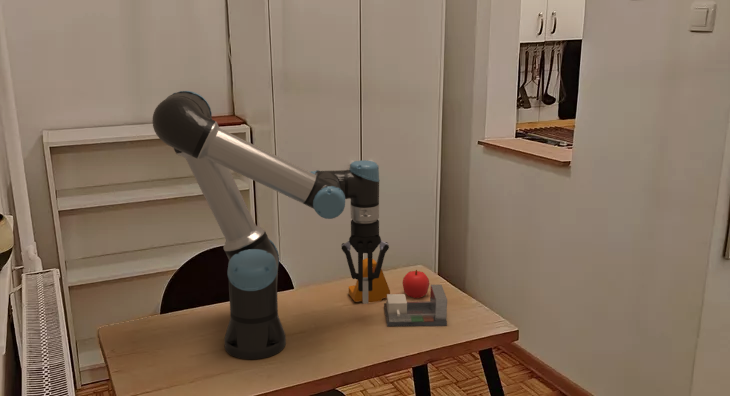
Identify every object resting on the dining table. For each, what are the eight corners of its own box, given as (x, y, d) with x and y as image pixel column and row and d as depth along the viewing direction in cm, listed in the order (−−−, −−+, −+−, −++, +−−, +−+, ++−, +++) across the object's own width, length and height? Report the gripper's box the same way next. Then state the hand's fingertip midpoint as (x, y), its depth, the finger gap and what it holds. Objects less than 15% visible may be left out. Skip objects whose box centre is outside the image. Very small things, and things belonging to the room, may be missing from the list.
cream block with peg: (389, 321, 176) (389, 308, 175) (386, 307, 185) (386, 294, 184) (407, 321, 177) (408, 307, 176) (404, 307, 185) (404, 294, 184)
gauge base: (387, 326, 177) (387, 301, 175) (383, 307, 188) (384, 283, 186) (446, 325, 177) (447, 301, 175) (439, 306, 189) (440, 283, 187)
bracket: (381, 290, 200) (382, 252, 196) (390, 300, 193) (390, 261, 190) (347, 294, 196) (347, 256, 193) (354, 304, 190) (355, 265, 186)
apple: (415, 287, 202) (416, 263, 200) (434, 296, 196) (435, 270, 194) (396, 294, 197) (397, 269, 195) (415, 303, 191) (415, 277, 189)
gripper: (340, 224, 170) (341, 308, 177) (390, 223, 171) (390, 306, 178) (340, 215, 178) (341, 296, 184) (388, 214, 178) (388, 295, 185)
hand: (365, 301), depth 181 cm, fingers closed
